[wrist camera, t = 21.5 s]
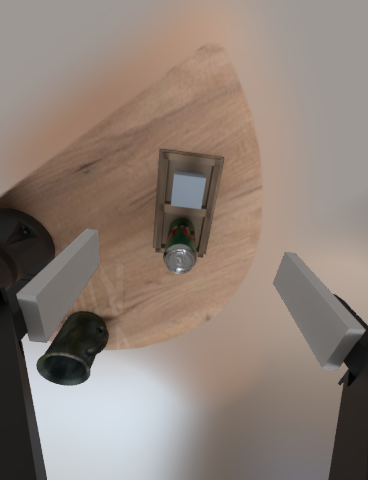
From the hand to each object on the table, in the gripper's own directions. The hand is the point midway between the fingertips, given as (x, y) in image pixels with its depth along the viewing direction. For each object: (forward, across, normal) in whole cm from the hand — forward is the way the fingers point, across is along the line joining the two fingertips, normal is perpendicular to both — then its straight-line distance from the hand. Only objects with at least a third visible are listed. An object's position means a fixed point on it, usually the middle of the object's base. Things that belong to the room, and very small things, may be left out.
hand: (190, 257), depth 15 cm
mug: (+27, -20, -39) cm, 51 cm away
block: (+26, 0, 0) cm, 26 cm away
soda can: (+26, 0, -9) cm, 27 cm away
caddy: (+27, 0, -4) cm, 27 cm away
